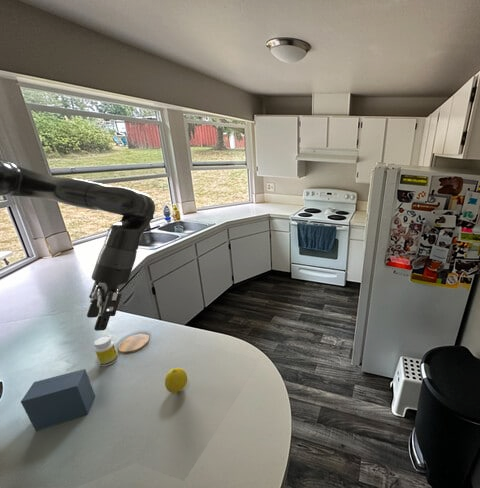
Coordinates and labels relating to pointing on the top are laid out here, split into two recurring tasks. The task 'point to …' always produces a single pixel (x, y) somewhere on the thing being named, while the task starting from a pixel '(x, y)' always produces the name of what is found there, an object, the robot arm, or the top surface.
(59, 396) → the dark gray rectangular block
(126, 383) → the top surface
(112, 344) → the supplement bottle
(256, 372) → the top surface
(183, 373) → the lemon
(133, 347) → the coaster
